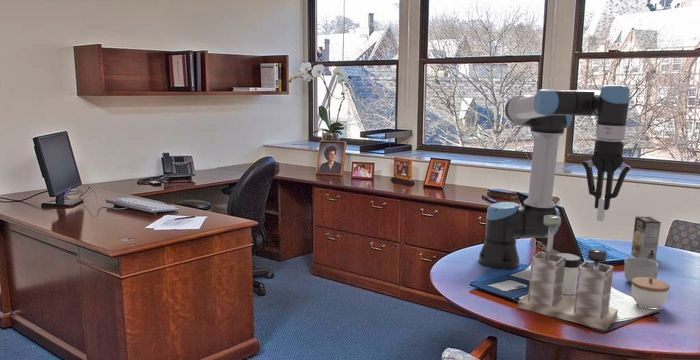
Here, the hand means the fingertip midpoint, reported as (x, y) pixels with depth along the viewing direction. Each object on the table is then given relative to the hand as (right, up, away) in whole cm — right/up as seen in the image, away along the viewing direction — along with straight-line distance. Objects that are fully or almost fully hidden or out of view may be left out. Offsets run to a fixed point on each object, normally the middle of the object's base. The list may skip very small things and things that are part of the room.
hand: (600, 219), depth 171 cm
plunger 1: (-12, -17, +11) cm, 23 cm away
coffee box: (+47, -20, +67) cm, 84 cm away
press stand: (-7, -29, +9) cm, 31 cm away
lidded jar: (+22, -29, +16) cm, 39 cm away
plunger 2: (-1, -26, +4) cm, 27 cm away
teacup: (+30, -25, +38) cm, 54 cm away
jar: (-1, -26, +27) cm, 37 cm away
